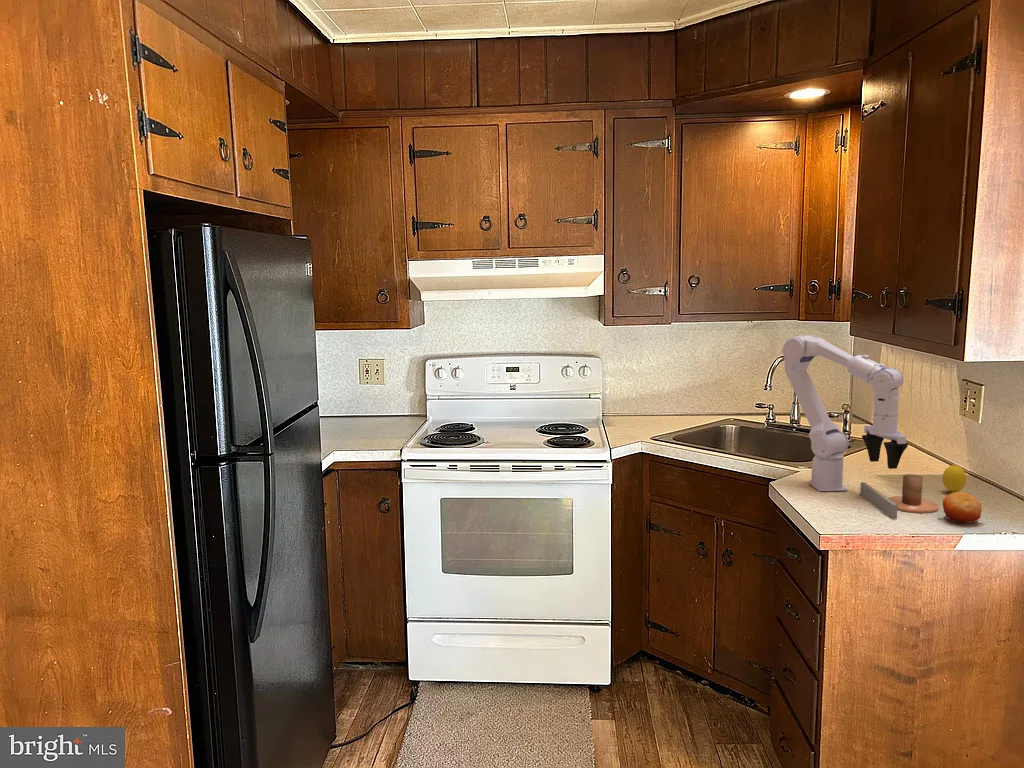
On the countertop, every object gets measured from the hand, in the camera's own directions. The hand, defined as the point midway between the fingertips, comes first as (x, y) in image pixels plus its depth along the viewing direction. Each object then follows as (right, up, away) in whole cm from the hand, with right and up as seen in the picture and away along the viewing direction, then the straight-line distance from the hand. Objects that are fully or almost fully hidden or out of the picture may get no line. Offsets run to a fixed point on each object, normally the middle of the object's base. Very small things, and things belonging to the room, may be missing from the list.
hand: (883, 464), depth 195 cm
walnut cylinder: (+5, -9, -5) cm, 12 cm away
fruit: (+10, -12, -17) cm, 23 cm away
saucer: (+5, -10, -5) cm, 12 cm away
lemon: (+22, -8, +5) cm, 24 cm away
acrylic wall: (-4, -10, -4) cm, 12 cm away
